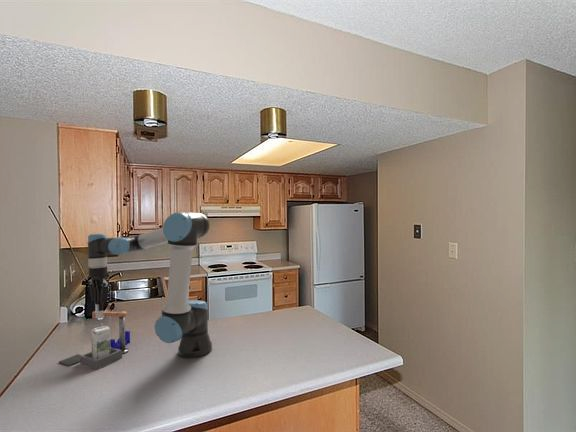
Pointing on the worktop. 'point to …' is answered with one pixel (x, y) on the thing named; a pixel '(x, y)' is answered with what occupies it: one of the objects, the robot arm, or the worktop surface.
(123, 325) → the post
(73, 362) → the pad
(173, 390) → the worktop surface
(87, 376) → the worktop surface
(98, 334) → the syrup box
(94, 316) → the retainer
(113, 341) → the blue stepped block
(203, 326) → the robot arm
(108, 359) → the cradle
